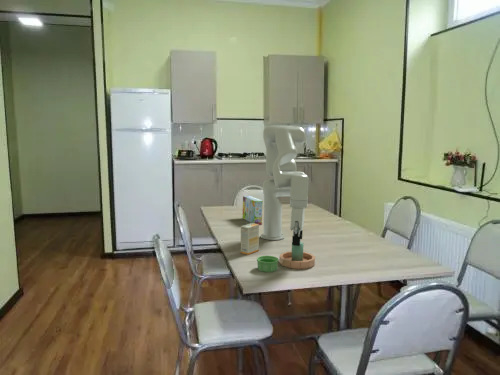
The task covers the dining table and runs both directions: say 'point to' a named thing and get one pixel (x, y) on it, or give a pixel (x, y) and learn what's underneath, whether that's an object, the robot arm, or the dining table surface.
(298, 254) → the teal tapered rounded piece
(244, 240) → the supplement box
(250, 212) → the snack box
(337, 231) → the dining table surface
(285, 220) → the dining table surface
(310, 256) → the round dish
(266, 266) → the ramekin
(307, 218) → the dining table surface
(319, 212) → the dining table surface
